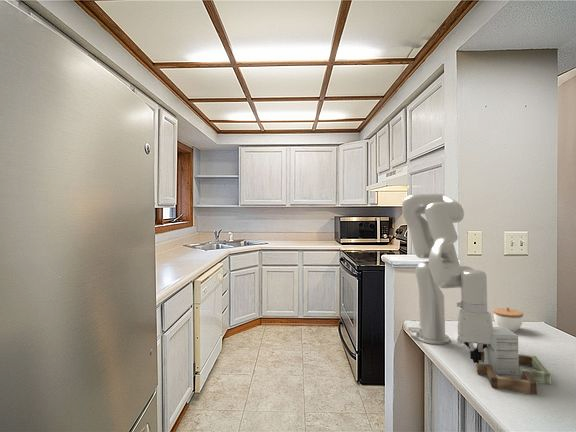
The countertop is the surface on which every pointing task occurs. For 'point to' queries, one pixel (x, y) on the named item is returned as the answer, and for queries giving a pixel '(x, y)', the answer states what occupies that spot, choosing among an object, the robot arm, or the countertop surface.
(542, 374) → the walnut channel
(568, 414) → the countertop surface
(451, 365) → the countertop surface
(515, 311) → the lidded jar
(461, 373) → the countertop surface
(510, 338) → the supplement box
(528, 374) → the brown wooden bent piece
